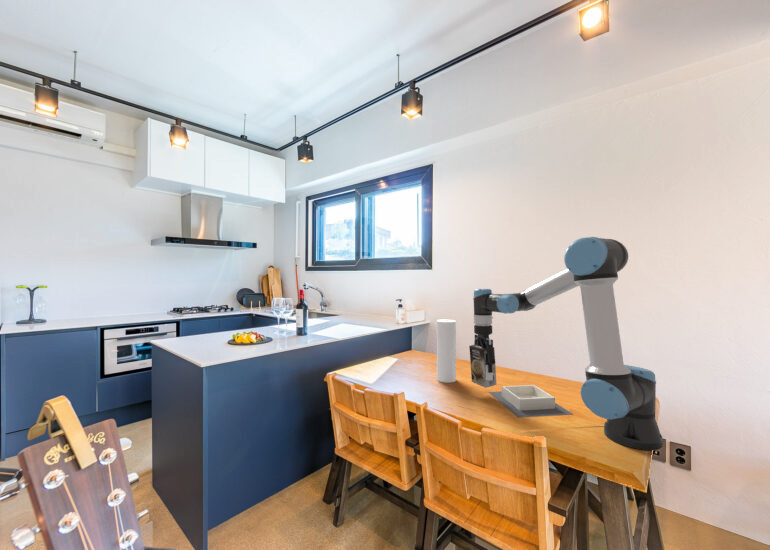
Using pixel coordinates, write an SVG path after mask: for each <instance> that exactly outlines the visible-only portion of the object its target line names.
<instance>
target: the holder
mask: <svg viewBox="0 0 770 550" xmlns="http://www.w3.org/2000/svg"><path fill="white" fill-rule="evenodd" d="M501 391H502V397H503V398H505V399H506V400H507V401H508V402H510V403H511V404H512V405H513V406H515V407H516V408H517V409H518V410H538V409H555V403H556V397H554V396H553V395H551V394H550V393H548V392H546V390H543V389H542V388H540V387H538V386H536V385H535V384H527V385H504V386H503V385H502V386H501Z"/></svg>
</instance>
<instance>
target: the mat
mask: <svg viewBox="0 0 770 550" xmlns="http://www.w3.org/2000/svg"><path fill="white" fill-rule="evenodd" d="M488 393H489V394H490V395H491V396H492V397H493V398H494V399H495V400H497V401H498V402H499V403H500V404H501V405H503V406H504V407H505V408H506V409H507V410H508V411H510V412H511V413H512V414H513V415H515V416H516V417H517V419H519V418H532V417H552V416H553V417H554V416H570V415H574V413H573V412H571V411H569V410H567V409H566V408H565V407H563V406H561V405H560V404H558V403H556V402H555V409H538V410H518V409H517V408H516V407H515V406H513V405H512V404H511V403H510V402H508V401H507V400H506V399H505V398H503V397H502V390H501V391H488Z"/></svg>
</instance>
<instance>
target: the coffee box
mask: <svg viewBox="0 0 770 550" xmlns="http://www.w3.org/2000/svg"><path fill="white" fill-rule="evenodd" d="M493 349H494V356H495V357H496V355H495V353H496V352H495V347H494V346H493ZM486 354H487V348H482V346H480V345H477V344H476V345H474V344H472V345H469V358H470V359H469V361H470V372H471V382H472V383H474V384H476V385H478V386H480V387H483V388H485V389H486V388H490V387H494V386H497V374H496V373H497V370H496V363H495V364H493V380H486V365H485V364H486Z"/></svg>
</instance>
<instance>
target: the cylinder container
mask: <svg viewBox="0 0 770 550" xmlns="http://www.w3.org/2000/svg"><path fill="white" fill-rule="evenodd" d="M456 369H457V321H456V320H455V319H446V318H445V319H437V320H436V380H437V382H440V383H446V384H448V383H454V382H456V381H457V370H456Z"/></svg>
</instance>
